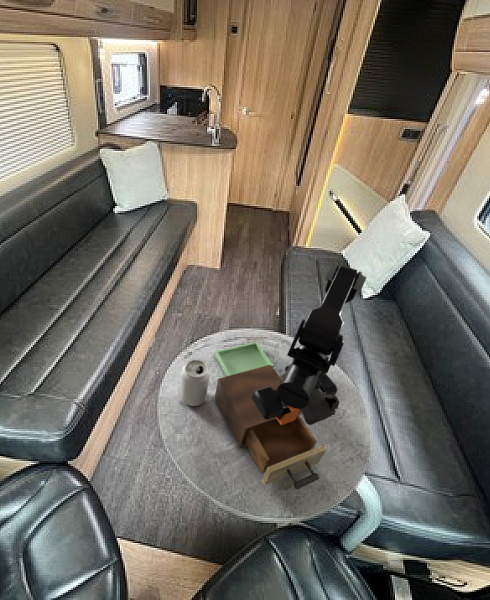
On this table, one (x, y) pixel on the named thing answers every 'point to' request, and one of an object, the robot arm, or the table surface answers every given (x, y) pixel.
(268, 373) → the cabinet
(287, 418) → the cube
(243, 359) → the tray
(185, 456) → the table surface
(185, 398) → the can
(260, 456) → the drawer
